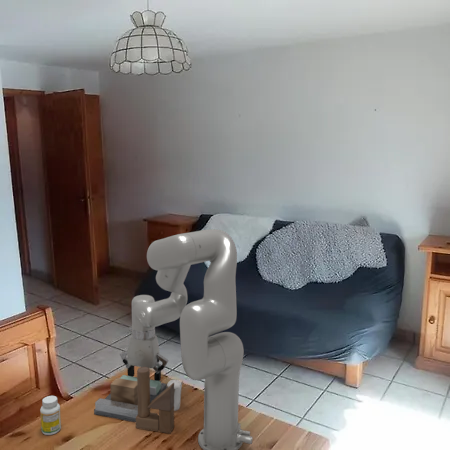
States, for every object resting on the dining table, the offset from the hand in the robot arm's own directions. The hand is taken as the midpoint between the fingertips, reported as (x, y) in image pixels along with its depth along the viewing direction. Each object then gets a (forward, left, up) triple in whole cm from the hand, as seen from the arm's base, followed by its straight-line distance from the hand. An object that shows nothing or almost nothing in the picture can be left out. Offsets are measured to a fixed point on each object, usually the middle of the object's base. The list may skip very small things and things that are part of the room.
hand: (144, 379), depth 156 cm
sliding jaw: (0, +4, -1) cm, 4 cm away
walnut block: (0, +13, -1) cm, 13 cm away
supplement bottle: (+15, +30, -3) cm, 33 cm away
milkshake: (-15, +9, -3) cm, 17 cm away
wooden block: (-13, +20, -3) cm, 24 cm away
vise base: (0, +9, -3) cm, 9 cm away
